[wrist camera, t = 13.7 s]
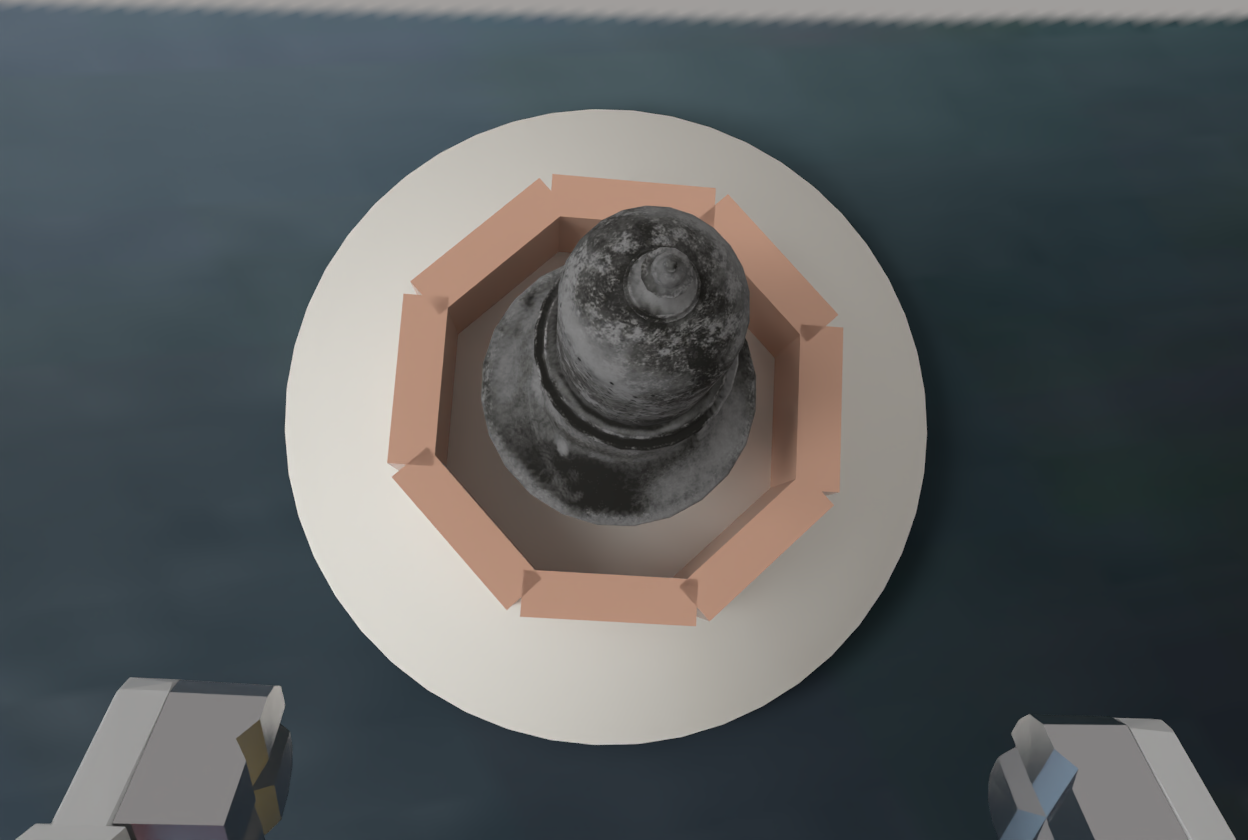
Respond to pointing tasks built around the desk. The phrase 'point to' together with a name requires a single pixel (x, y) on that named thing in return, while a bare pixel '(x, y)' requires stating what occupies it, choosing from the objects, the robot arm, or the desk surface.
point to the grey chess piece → (626, 371)
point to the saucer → (569, 547)
